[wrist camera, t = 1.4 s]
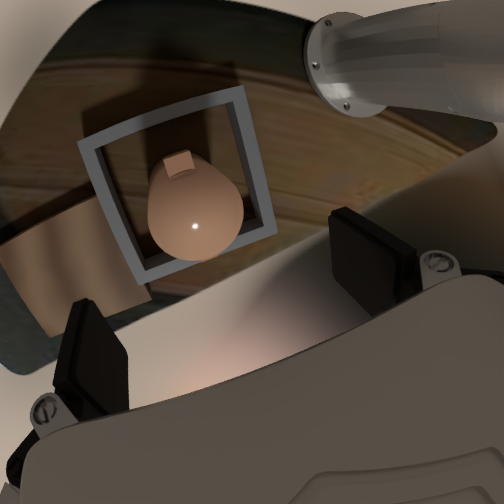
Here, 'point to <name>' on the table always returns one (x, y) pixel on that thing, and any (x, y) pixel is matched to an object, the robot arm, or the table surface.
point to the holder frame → (91, 145)
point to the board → (71, 266)
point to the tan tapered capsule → (192, 207)
